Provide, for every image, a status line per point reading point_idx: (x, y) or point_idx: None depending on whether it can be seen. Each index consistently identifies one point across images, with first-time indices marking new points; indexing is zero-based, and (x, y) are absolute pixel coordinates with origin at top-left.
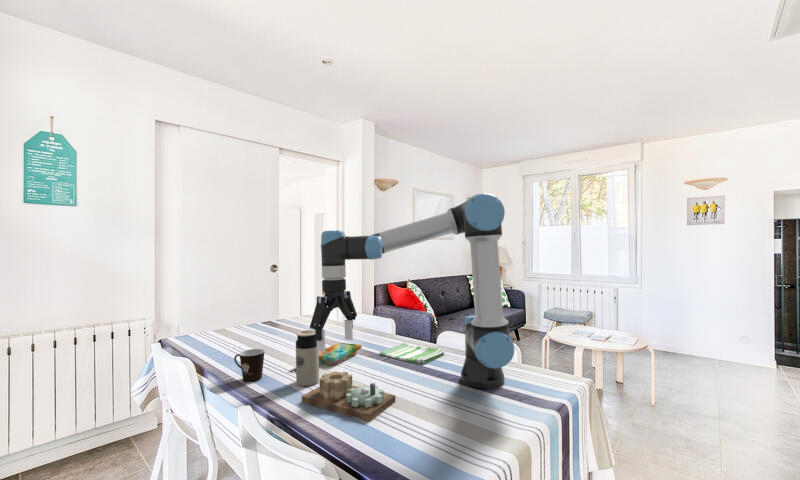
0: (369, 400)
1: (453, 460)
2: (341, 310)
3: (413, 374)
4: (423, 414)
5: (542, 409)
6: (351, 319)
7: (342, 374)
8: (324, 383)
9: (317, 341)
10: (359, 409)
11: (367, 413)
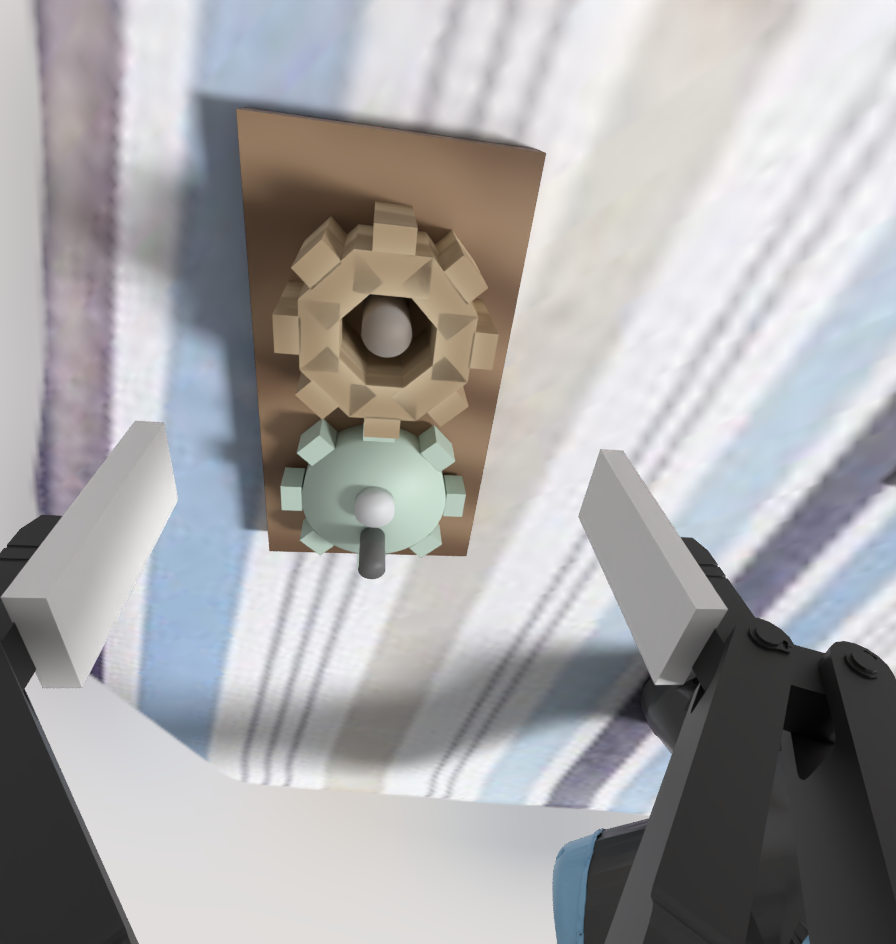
0: (314, 548)
1: (229, 735)
2: (673, 801)
3: (766, 491)
4: (408, 633)
5: (541, 792)
6: (701, 680)
7: (444, 358)
8: (274, 325)
9: (93, 489)
10: None
11: (272, 540)
